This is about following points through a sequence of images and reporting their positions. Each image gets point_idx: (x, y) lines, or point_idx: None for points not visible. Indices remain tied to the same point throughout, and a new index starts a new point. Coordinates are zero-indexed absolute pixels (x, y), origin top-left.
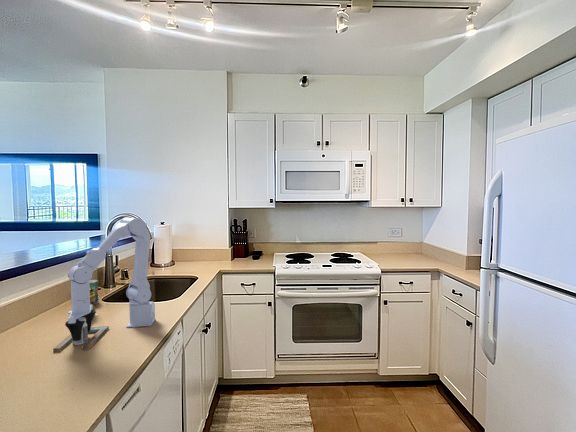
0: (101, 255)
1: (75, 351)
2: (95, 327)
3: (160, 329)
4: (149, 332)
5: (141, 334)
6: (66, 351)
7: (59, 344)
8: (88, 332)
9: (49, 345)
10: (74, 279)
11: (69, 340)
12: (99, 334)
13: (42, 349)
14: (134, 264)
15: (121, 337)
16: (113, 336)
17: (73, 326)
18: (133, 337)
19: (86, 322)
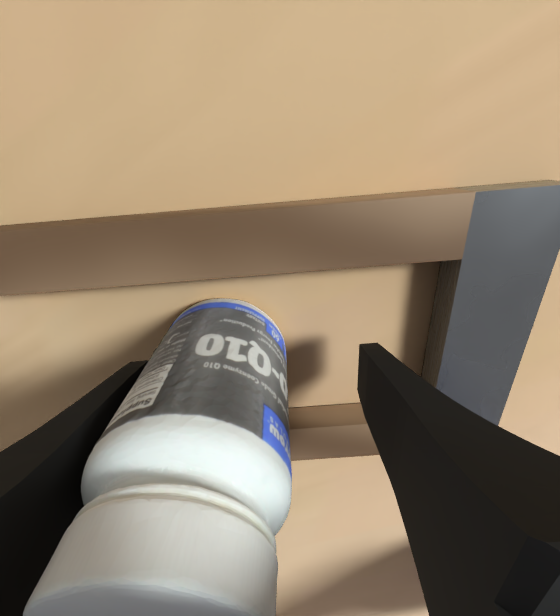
0: None
1: (63, 391)
2: (498, 368)
3: (369, 612)
4: (340, 593)
5: (320, 578)
6: (45, 331)
7: (69, 242)
8: (432, 323)
9: (134, 51)
10: None
11: (200, 277)
12: (308, 455)
13: (12, 29)
14: None
15: (292, 526)
16: (314, 492)
17: (11, 538)
18: (284, 564)
19: (402, 455)
